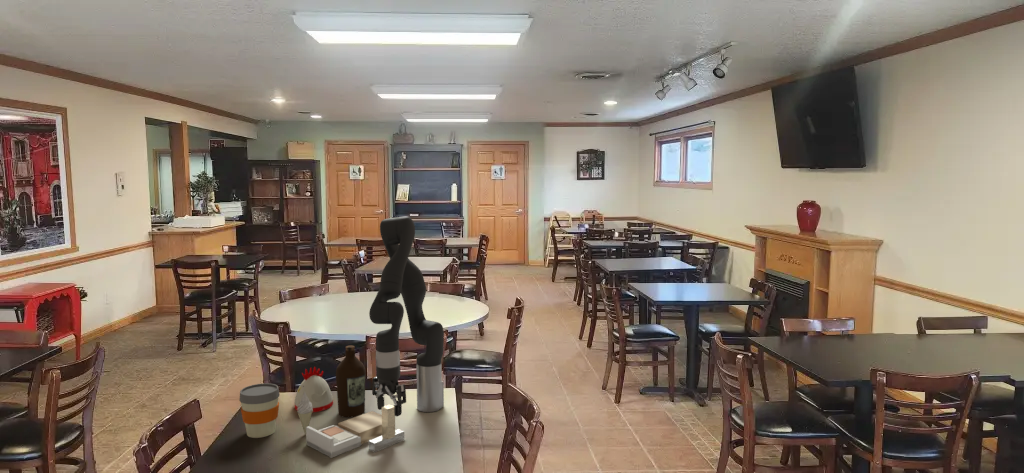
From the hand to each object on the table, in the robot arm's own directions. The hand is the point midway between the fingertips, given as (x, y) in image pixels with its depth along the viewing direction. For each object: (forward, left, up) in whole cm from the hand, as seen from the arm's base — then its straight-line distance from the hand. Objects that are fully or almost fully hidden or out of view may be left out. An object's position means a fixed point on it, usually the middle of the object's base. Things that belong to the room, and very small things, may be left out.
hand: (389, 412), depth 196 cm
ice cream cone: (+13, -28, -11) cm, 33 cm away
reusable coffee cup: (+22, -41, -11) cm, 48 cm away
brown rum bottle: (-8, -32, -11) cm, 35 cm away
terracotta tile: (+10, -16, -10) cm, 22 cm away
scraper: (0, -1, -11) cm, 11 cm away
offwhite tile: (+10, -11, -10) cm, 18 cm away
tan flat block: (-1, -14, -11) cm, 18 cm away
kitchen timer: (-3, -49, -11) cm, 51 cm away
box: (+12, -14, -11) cm, 21 cm away
